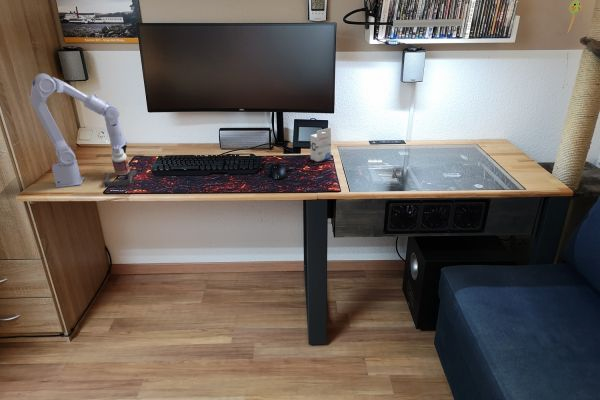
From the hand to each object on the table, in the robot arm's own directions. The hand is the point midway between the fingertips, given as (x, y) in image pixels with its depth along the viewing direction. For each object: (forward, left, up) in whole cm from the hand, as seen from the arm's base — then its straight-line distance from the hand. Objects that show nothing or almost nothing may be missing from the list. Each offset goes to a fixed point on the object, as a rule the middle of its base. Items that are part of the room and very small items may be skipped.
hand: (123, 162), depth 193 cm
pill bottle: (-1, -2, -3) cm, 4 cm away
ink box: (+88, -8, -4) cm, 88 cm away
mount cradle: (-1, -10, -4) cm, 11 cm away
